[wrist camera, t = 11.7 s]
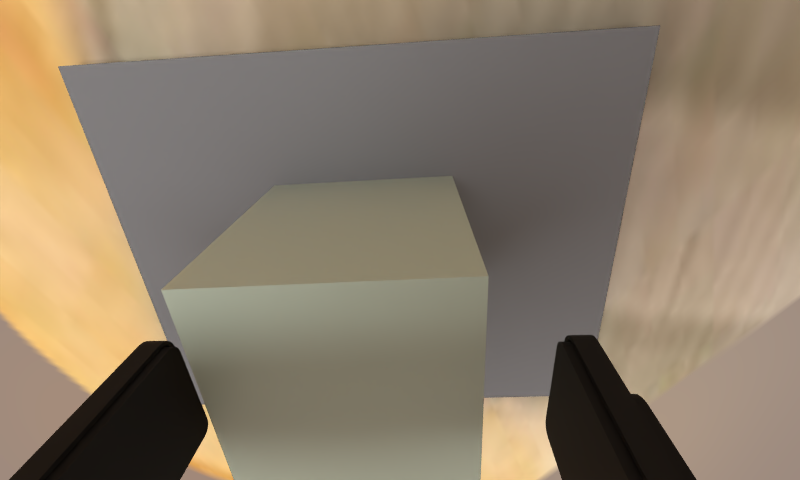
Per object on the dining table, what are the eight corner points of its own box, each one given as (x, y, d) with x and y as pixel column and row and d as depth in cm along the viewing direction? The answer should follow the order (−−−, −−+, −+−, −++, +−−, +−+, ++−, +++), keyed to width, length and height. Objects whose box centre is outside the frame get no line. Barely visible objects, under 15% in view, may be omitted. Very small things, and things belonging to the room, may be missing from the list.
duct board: (643, 27, 13) (808, 4, 8) (578, 379, 20) (642, 500, 14) (80, 66, 14) (-128, 69, 9) (202, 389, 21) (128, 506, 15)
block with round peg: (274, 185, 15) (161, 289, 8) (452, 175, 14) (488, 276, 8) (315, 380, 19) (262, 555, 12) (453, 376, 19) (477, 554, 12)
